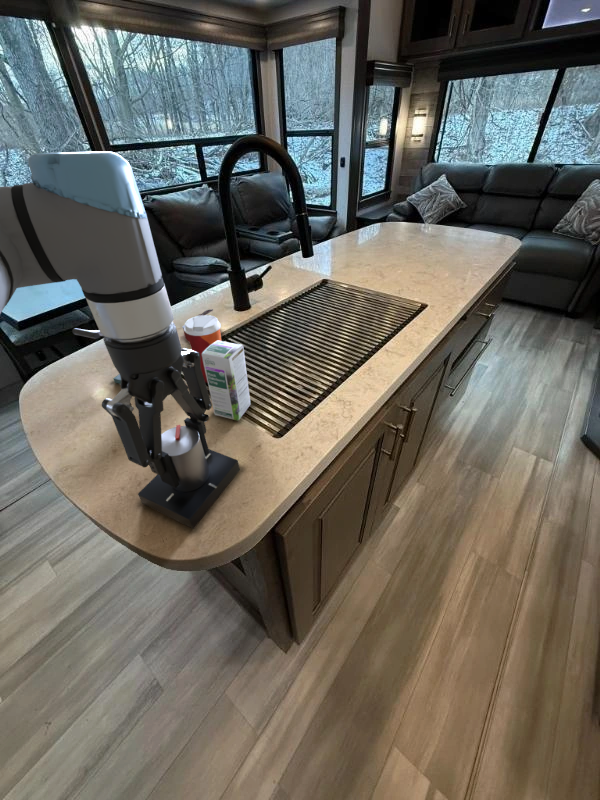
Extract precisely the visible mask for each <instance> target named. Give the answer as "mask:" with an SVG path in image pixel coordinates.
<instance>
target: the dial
mask: <svg viewBox="0 0 600 800" xmlns="http://www.w3.org/2000/svg"><path fill="white" fill-rule="evenodd" d="M161 439H162V451H163V452H165V453H168V455H169V458H170V460H171V463H172V465H173V468H174V471H175V473H176V476H177V478H178V481H179V485H178V486H177V488H175V487H173V486H172V487H173V488H174V489H175V490H177V491H181V492H189V491H193V490H196V489H198V488H199V487H201V486H202V485H203V484H204V483H205V482H206V481H207V479H208V477H209V468H208V464H207V461H206V457H205V454H204V450H203V447H202V443H201V440H200V436H199V433H198V431H197V430H196V429H194V428H192V427H189V426H185V425H181V424H176V425H175V426H174V427H172V428H169V429H166V430H165V431H164V432H162V433H161Z"/></svg>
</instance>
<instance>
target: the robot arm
mask: <svg viewBox="0 0 600 800" xmlns="http://www.w3.org/2000/svg"><path fill="white" fill-rule="evenodd" d="M27 163H28V164H27V165H28V167H29V170H30V173H31V175H30V179H31V182H26V183H23V184H14V185H10V186H0V315H1V314H2V312H3V310H4V309H5V307H6V306H7V305H8V303H9V302H10V301H11V299H12V297H13V296H14V294H15V292H16V290H17V289H20V288H21V289H22V288H26V287H33V286H34V287H35V286H40V285H41V286H42V285H47V284H48V285H49V284H55V283H62V282H66V281H72V280H76V281H77V283H78V285H79V287H80V288H81V291H82V294H83V296H84V298H85V299H86V302H87V305H88V307H89V310H90V312H91V314H92V317H93V319H94V321H95V323H96V326H97V328H98V330H99V331H100V333H101V334H102V335H104V336H103V343H104V345H105V348H106V350H107V353H108V355H109V357H110V360H111V362H112V364H113V366H114V368H115V370H116V371H117V372H118V375H119V374H120V376H121V384H119V385H120V391H119V392H118V393H117V394H115V396H114V397H112V398H109V397H108V398H104V399H103V400H102V401H101V407H102V409H104V411H106V412H107V413H108V414H109V415H110V416H111V419H112V421H113V423H114V425H115V428H116V431H117V433H118V436H119V439H120V441H121V444H122V446H123V449H124V451H125V454H126V456H127V459H128V460H129V462H131V463H134V464H136V465H138V466H140V467H143V468H147V467H149V468H150V471H151V472H152V473H154V474H156V475H157V474H158V475H160V478H161V480H162V481H163V482H165V483H167V484H169V485H171V486H173V487H175V488H177V486H178V485H179V481H178V478H177V476H176V473H175V471H174V468H173V465H172V463H171V460H170V458H169V455H168V453H165V452H163V451H162V439H161V434H162V417H161V413H162V412H163V411H164V401H165V399H166V398H167V397H168V396H171V397H172V398H173V399H174V401H175V402H176V403H177V404H178V406H179V407H180V409H181V410H182V411H183V412H184V413H185V414H186V416H187V417H186V418H184V420H183V422H184V426H189V427H192V428H194V429H196V430H197V431H198V433H199V436H200V440H201V443H202V447H203V450H204V454H205V456H207V455H208V454H209V449H210V448H209V445H208V442H207V438H206V434H207V425H206V423H207V422H208V421H209V420H210V415H209V414H207V413H206V412H207V411H210V410H211V409H212V408H213V404H212V400H211V396H210V393H209V389H208V387H207V383H206V382H205V380H204V377H203V374H202V370H201V362H200V353H199V352H196V351H193V350H192V349H189V348H185V347H183V348H182V345H181V340H180V336H179V333H178V329H177V326H176V323H174V319H175V318H174V313H173V309H172V306H171V303H170V299H169V296H168V292H167V288H166V284H165V281H164V279H163V274H162V270H161V267H160V263H159V258H158V255H157V250H156V247H155V244H154V243H155V242H154V239H153V235H152V231H151V228H150V223H149V220H148V215H147V212H146V210H145V206H144V203H143V200H142V197H141V194H140V191H139V187H138V184H137V181H136V178H135V177H136V176H135V175H134V170H133V168H132V166H131V164H130V163H129V162H128V161H127V159H125V158H124V157H123V156H122V155H120V154H118V153H116V152H113V151H106V150H105V151H97V150H96V151H67V152H42V153H40V152H39V153H33V154H31V155H30V156H29V157H28V159H27ZM182 374H183V377H184V379H183V378H182ZM132 398H134V406H135V408H136V409H137V411H138V412H137V413H138V420H137V418H136V416H135V414H134V412H133V411H134V410H135V408H134V406H133V404H132V401H131V400H132Z"/></svg>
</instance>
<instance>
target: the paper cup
mask: <svg viewBox="0 0 600 800" xmlns="http://www.w3.org/2000/svg"><path fill="white" fill-rule="evenodd" d="M184 325H185V327H184V330H183V332H184V331H185V333H187V336H188V339H189V342H188V343H189V346H190V348H191V349H190V350H193V351H196V352H199V353H200V362H201V370H202V374H203V377H204V380H205V384H208V381H207V377H206V373H205V368H204V364H203V359H202V353H203V351H204V350H205V349H206V348H207V347H209V346H210V345H211V344H213V343H214V342H216V341H217V340H219V341H222V334H221V327H222V324H221V322H220V321H219V320H218V318H217V317H216V316H214V315H210V314H206V315H200V316H198V315H195V316H192V317H189V318H188V319H187V320H186V321H185V323H184Z"/></svg>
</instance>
